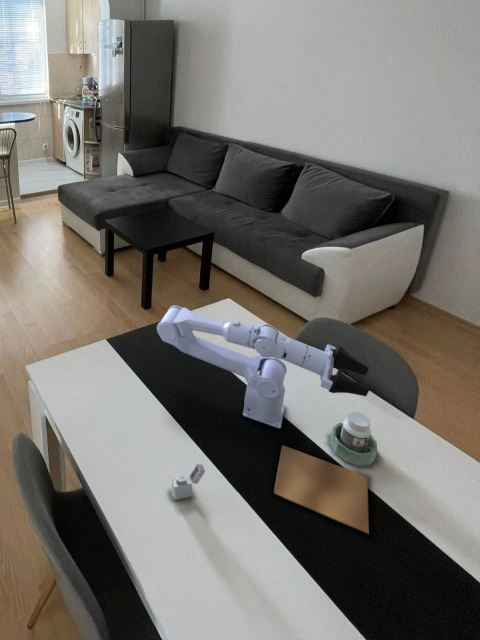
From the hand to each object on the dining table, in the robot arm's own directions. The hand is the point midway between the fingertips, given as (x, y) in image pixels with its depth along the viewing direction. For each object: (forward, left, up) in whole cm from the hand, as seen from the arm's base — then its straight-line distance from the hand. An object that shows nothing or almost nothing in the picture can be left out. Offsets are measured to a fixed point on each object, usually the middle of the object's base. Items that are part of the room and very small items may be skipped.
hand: (367, 381), depth 99 cm
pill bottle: (0, -2, -20) cm, 20 cm away
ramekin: (0, -2, -20) cm, 20 cm away
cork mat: (-6, -16, -20) cm, 26 cm away
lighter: (-32, -32, -20) cm, 49 cm away
